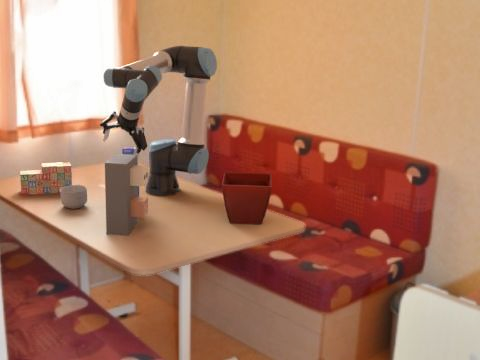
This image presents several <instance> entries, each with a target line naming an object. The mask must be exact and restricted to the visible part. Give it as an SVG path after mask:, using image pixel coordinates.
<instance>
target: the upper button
mask: <svg viewBox="0 0 480 360" xmlns="http://www.w3.org/2000/svg"><path fill="white" fill-rule="evenodd" d="M148 177H149V166H146V165H138V166H135V165H134V166H133V167H131V168H130V186H139V187H144V186H146V183H147V182H148Z"/></svg>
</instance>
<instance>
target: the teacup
mask: <svg viewBox="0 0 480 360" xmlns="http://www.w3.org/2000/svg"><path fill="white" fill-rule="evenodd" d="M60 200H61V204H62V205H63V206H64V207H65V208H67V209H69V208H70V209H71V210H72V209H73V210H75V209H81V208H83V207H84V206H85V205H86V204H87V202H88V187H87V186H86V185H82V184H80V183H77V184H72V185H70V186H66V187H63V188H61V189H60ZM70 209H69V210H70Z"/></svg>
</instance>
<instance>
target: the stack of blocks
mask: <svg viewBox="0 0 480 360" xmlns="http://www.w3.org/2000/svg"><path fill="white" fill-rule="evenodd" d="M40 167H41V169H35V170H34V169H33V170H20V171H19V173H20V177H19V178H20V189H21V191H20V192H21V195H22V196H23V195H26V196H27V195H41V194H42V195H44V194H45V195H46V194H59V193H60V189H61V188H63V187H66V186H70V185H73V181H72V180H73V179H72V178H73V175H72V174H73V173H72V164H71V162H60V161H58V162H45V163H43V162H42V163H41V166H40Z"/></svg>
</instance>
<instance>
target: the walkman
mask: <svg viewBox="0 0 480 360" xmlns="http://www.w3.org/2000/svg"><path fill="white" fill-rule="evenodd" d="M135 148H136V147H122V148H121V154H128V155H133V154H134V151H135ZM139 155H140V153H139V154H137V158H138V159H139Z"/></svg>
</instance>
